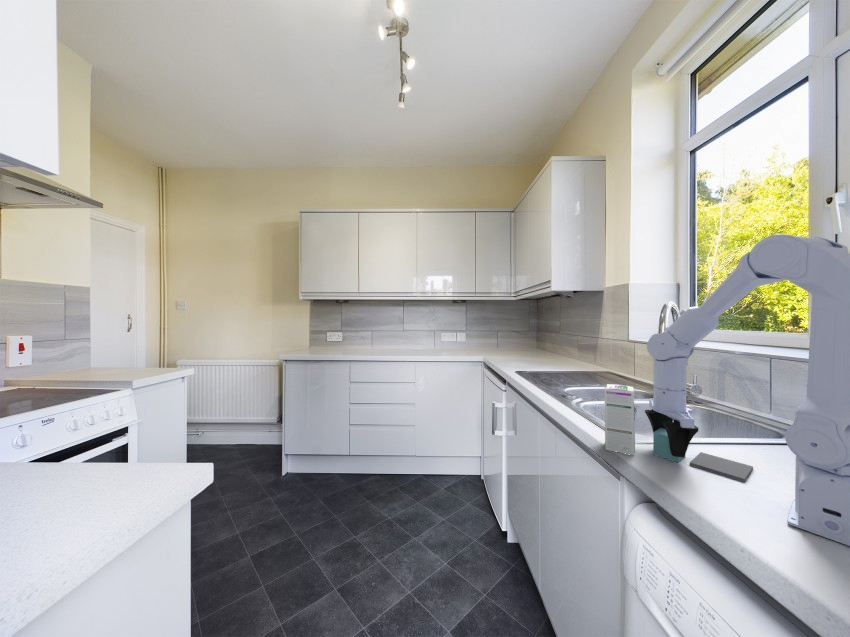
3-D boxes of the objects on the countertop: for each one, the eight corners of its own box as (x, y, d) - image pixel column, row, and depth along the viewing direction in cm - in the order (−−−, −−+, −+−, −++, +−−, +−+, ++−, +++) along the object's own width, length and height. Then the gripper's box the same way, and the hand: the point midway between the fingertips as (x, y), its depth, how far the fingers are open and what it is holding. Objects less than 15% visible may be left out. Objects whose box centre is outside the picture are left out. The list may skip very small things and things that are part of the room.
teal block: (678, 462, 65) (678, 438, 65) (653, 454, 68) (653, 432, 68) (685, 456, 67) (685, 434, 67) (660, 449, 71) (660, 427, 71)
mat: (744, 482, 57) (744, 479, 57) (689, 465, 64) (689, 462, 64) (752, 469, 62) (753, 466, 62) (700, 454, 68) (700, 452, 68)
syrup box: (635, 456, 68) (635, 391, 67) (604, 450, 71) (604, 387, 71) (634, 447, 72) (635, 386, 72) (605, 441, 76) (605, 382, 75)
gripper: (713, 397, 60) (712, 467, 60) (673, 381, 74) (672, 438, 74) (670, 395, 62) (670, 462, 62) (639, 380, 76) (639, 435, 76)
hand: (669, 449), depth 68 cm, fingers closed on teal block, 6 cm apart
